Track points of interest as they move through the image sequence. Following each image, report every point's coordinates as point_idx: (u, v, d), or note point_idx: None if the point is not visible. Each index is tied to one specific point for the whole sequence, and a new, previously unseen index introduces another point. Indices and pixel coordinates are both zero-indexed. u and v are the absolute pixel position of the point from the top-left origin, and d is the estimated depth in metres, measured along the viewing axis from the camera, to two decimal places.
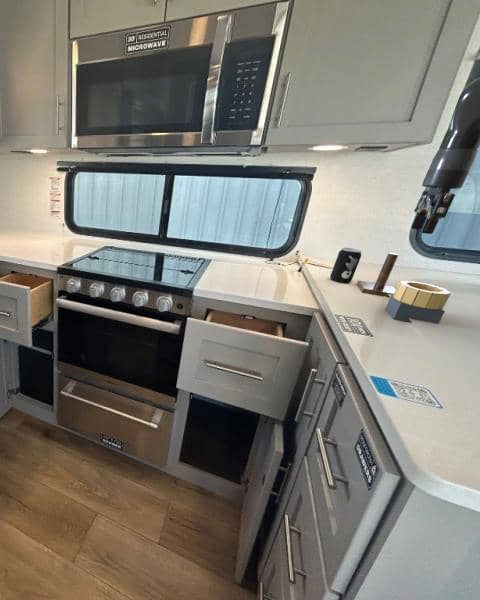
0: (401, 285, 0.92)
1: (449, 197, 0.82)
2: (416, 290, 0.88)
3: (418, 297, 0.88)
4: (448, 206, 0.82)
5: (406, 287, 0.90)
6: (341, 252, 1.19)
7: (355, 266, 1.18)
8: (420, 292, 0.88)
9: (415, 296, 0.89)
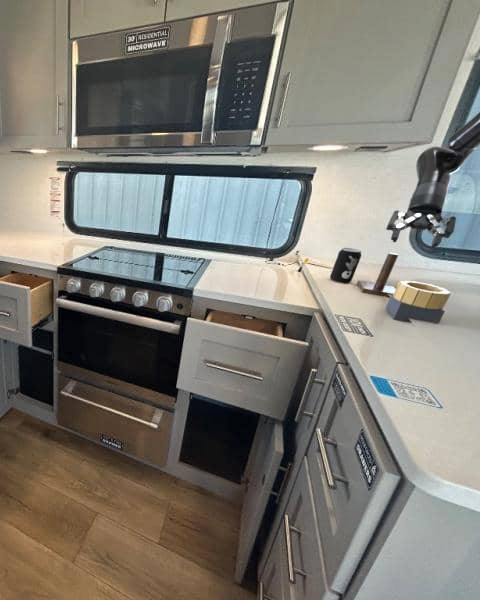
0: (401, 285, 0.92)
1: None
2: (416, 290, 0.88)
3: (418, 297, 0.88)
4: (391, 218, 1.02)
5: (406, 287, 0.90)
6: (341, 252, 1.19)
7: (355, 266, 1.18)
8: (420, 292, 0.88)
9: (415, 296, 0.89)
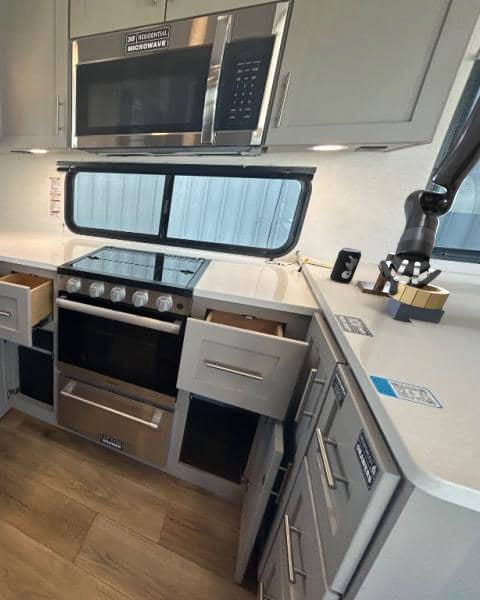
0: (400, 285, 0.92)
1: (381, 264, 0.98)
2: (415, 290, 0.88)
3: (417, 297, 0.88)
4: (383, 269, 0.97)
5: (405, 287, 0.90)
6: (341, 252, 1.19)
7: (355, 266, 1.18)
8: (419, 292, 0.88)
9: (414, 296, 0.89)
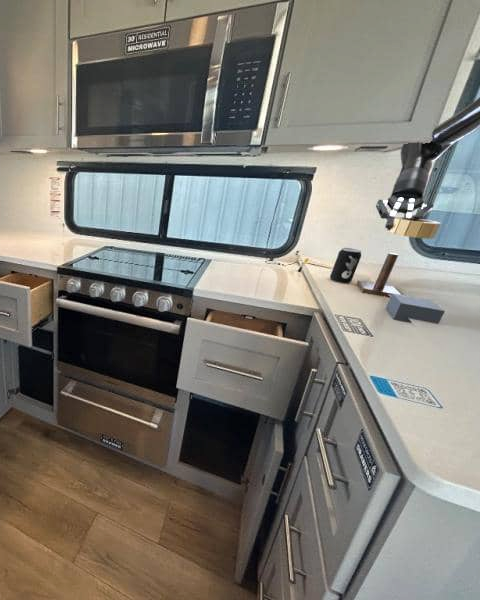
0: (395, 219, 1.00)
1: (378, 203, 1.06)
2: (408, 221, 0.97)
3: (410, 228, 0.97)
4: (380, 207, 1.05)
5: (399, 220, 0.99)
6: (341, 252, 1.19)
7: (355, 266, 1.18)
8: (412, 223, 0.96)
9: (407, 227, 0.97)
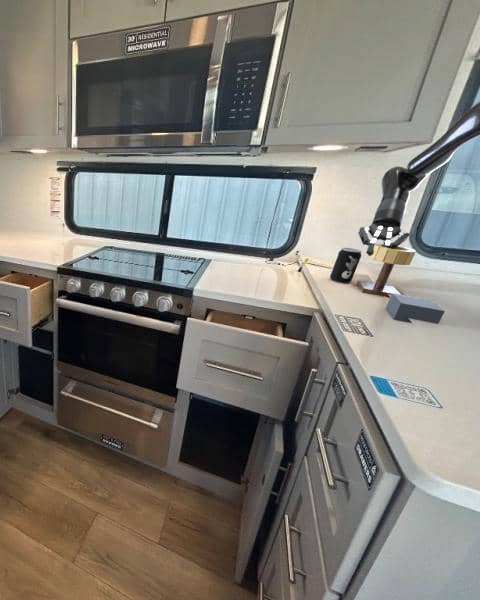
0: (375, 246, 1.10)
1: (360, 231, 1.15)
2: (386, 249, 1.06)
3: (387, 255, 1.06)
4: (362, 234, 1.14)
5: (378, 247, 1.08)
6: (341, 252, 1.19)
7: (355, 266, 1.18)
8: (389, 250, 1.05)
9: (385, 254, 1.06)
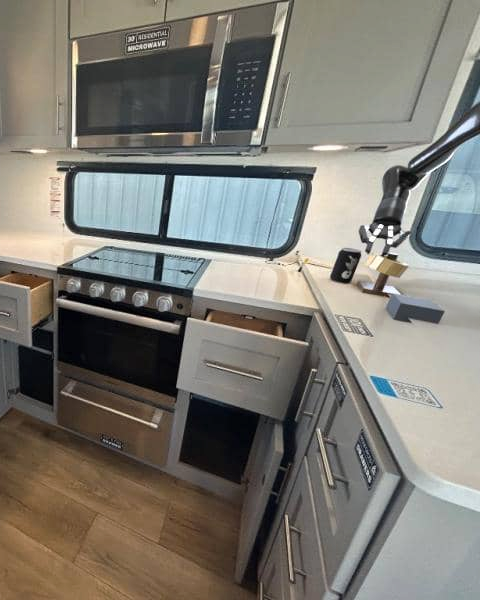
0: (373, 254, 1.10)
1: (360, 229, 1.15)
2: (383, 258, 1.07)
3: (382, 264, 1.07)
4: (361, 233, 1.14)
5: (376, 255, 1.09)
6: (341, 252, 1.19)
7: (355, 266, 1.18)
8: (385, 260, 1.06)
9: (380, 263, 1.08)
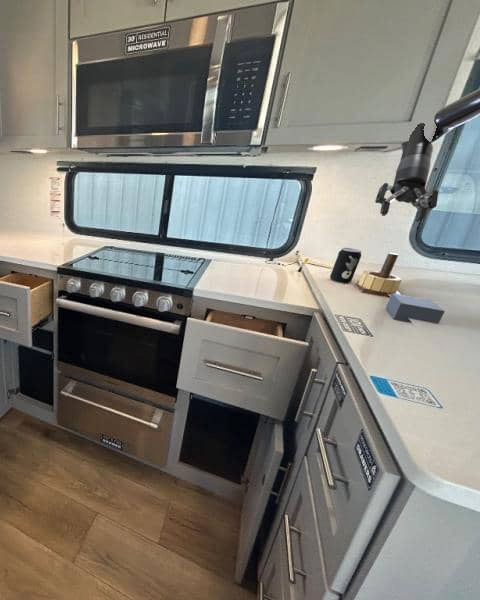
0: (363, 273, 1.14)
1: (382, 186, 1.05)
2: (373, 277, 1.10)
3: (374, 283, 1.10)
4: (380, 191, 1.04)
5: (366, 275, 1.12)
6: (341, 252, 1.19)
7: (355, 266, 1.18)
8: (376, 278, 1.09)
9: (372, 282, 1.10)
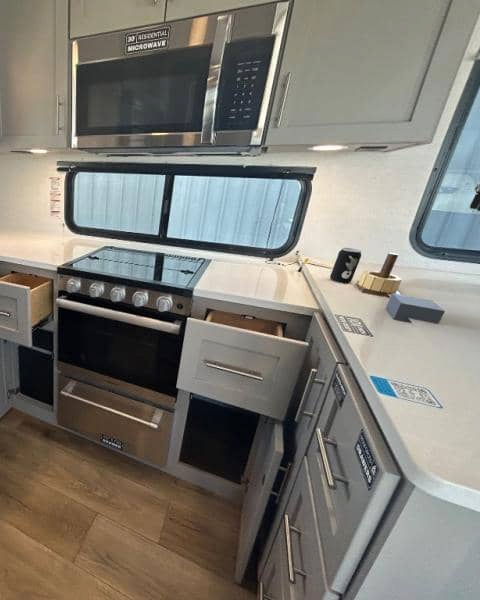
0: (363, 273, 1.14)
1: None
2: (373, 277, 1.10)
3: (374, 283, 1.10)
4: None
5: (366, 275, 1.12)
6: (341, 252, 1.19)
7: (355, 266, 1.18)
8: (376, 278, 1.09)
9: (372, 282, 1.10)
